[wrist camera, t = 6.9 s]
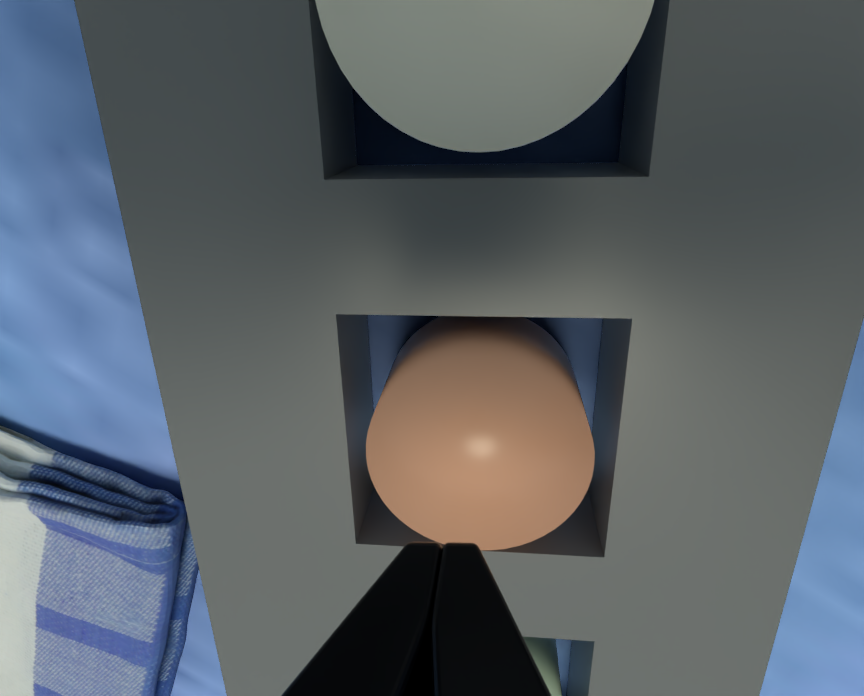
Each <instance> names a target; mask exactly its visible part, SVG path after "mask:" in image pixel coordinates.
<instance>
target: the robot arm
mask: <svg viewBox="0 0 864 696" xmlns="http://www.w3.org/2000/svg"><path fill="white" fill-rule="evenodd" d="M281 696H552V695H551V693H550V691H549V689H548V687H547V685H546V683H545V681H544V679H543V677H542V675H541V673H540V671H539V669H538V667H537V665H536V663H535V661H534V659H533V657H532V654H531V652H530V650H529V648H528V646H527V644H526V642H525V640H524V638H523V636H522V634H521V632H520V630H519V628H518V626H517V624H516V622H515V620H514V618H513V616H512V613H511V611H510V609H509V607H508V605H507V603H506V601H505V599H504V597H503V595H502V593H501V591H500V589H499V587H498V585H497V583H496V581H495V579H494V577H493V575H492V573H491V570H490V568H489V566H488V564H487V562H486V560H485V558H484V556H483V554H482V552H481V550H480V548H479V547H478V545H477V544H475V543H461V542H448V543H446V544H444V546H443V547H442V546H441V544H440V543H438V542H409V543H407V544H406V545H405V546H404V547H403V548H402V550H401V551H400V552H399V553H398V555H397V556H396V557H395V558H394V559H393V561H392V562H391V563H390V564H389V565H388V567H387V568H386V569H385V570H384V572H383V573H382V574H381V575H380V576H379V578H378V579H377V580H376V581H375V582H374V584H373V585H372V586H371V587H370V588H369V590H368V591H367V592H366V593H365V595H364V596H363V597H362V598H361V599H360V601H359V602H358V603H357V604H356V605H355V607H354V608H353V609H352V610H351V612H350V613H349V614H348V615H347V616H346V618H345V619H344V620H343V621H342V622H341V624H340V625H339V626H338V627H337V628H336V630H335V631H334V632H333V633H332V635H331V636H330V637H329V638H328V639H327V641H326V642H325V643H324V644H323V645H322V647H321V648H320V649H319V650H318V652H317V653H316V654H315V655H314V656H313V658H312V659H311V660H310V661H309V662H308V664H307V665H306V666H305V667H304V668H303V670H302V671H301V672H300V673H299V675H298V676H297V677H296V678H295V679H294V681H293V682H292V683H291V684H290V685H289V687H288V688H287V689H286V690H285V691H284V693H283V694H282V695H281Z"/></svg>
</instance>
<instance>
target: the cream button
mask: <svg viewBox="0 0 864 696" xmlns="http://www.w3.org/2000/svg"><path fill="white" fill-rule="evenodd" d="M315 2H316V6H317V10H318V14H319V18H320V22H321V26H322V29H323V31H324V34H325V37H326V39H327V42H328V44H329V47H330V49H331V51H332V53H333V55H334V57H335V59H336V61H337V63H338V65H339V67H340V69H341V71H342V72H343V74H344V75H345V76H346V78H347V79H348V81H349V82H350V84H351V85H352V87H353V88H354V90H355V91H356V92H357V93H358V94H359V95H360V96H361V98H362V99H363V100H364V101H365V102H366V103H367V104H368V106H370V107H371V108H372V109H373V110H374V111H375V112H376V113H377V114H379V115H380V116H381V117H382V118H383V119H384V120H386V121H387V122H389V123H390V124H391V125H393V126H394V127H396V128H397V129H399V130H400V131H402V132H404V133H406V134H408V135H410V136H412V137H414V138H416V139H418V140H420V141H422V142H425V143H428V144H431V145H434V146H437V147H440V148H445V149H450V150H455V151H462V152H492V151H502V150H506V149H511V148H515V147H520V146H523V145H526V144H529V143H531V142H534V141H537V140H540V139H542V138H544V137H546V136H548V135H550V134H552V133H554V132H556V131H558V130H559V129H561V128H563V127H564V126H566V125H567V124H569V123H570V122H571V121H573V120H574V119H576V118H577V117H579V116H580V115H581V114H582V113H583V112H585V111H586V110H587V109H588V108H589V107H590V106H591V105H592V104H594V103H595V102H596V101H597V100H598V99H599V98H600V97H601V96H602V94H603V93H604V92H605V91H606V90H607V89H608V88H609V87H610V85H611V84H612V83H613V82H614V81H615V79H616V78H617V76H618V75H619V74H620V72H621V71H622V69H623V68H624V66H625V65H626V64H627V62H628V61H629V59H630V57H631V55H632V53H633V51H634V50H635V48H636V46H637V44H638V42H639V40H640V39H641V36H642V34H643V31H644V29H645V26H646V24H647V22H648V19H649V17H650V14H651V11H652V7H653V4H654V0H315Z"/></svg>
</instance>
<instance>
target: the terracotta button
mask: <svg viewBox="0 0 864 696" xmlns="http://www.w3.org/2000/svg"><path fill="white" fill-rule="evenodd" d="M366 460H367V466H368V471H369V474H370V477H371V480H372V482H373V485H374V487H375V489H376V491H377V493H378V494H379V496H380V498H381V499H382V501H383V502H384V503H385V505H386V506H387V507H388V508H389V510H390V511H391V512H392V513H393V514H394V515H395V516H396V517H397V518H398V519H399V520H401V521H402V522H403V523H404V524H406V525H407V526H408V527H410V528H411V529H412V530H414V531H416V532H418V533H419V534H421V535H423V536H425V537H427V538H429V539H431V540H434V541H436V542H439V543H442V544H446V543H448V542H461V543H475V544H477V545H478V547H479V548H480V550H499V549H507V548H511V547H516V546H520V545H523V544H526V543H529V542H532V541H534V540H536V539H538V538H540V537H543V536H544V535H546V534H548V533H549V532H551V531H553V530H554V529H556V528H557V527H558V526H559V525H561V524H562V523H563V522H564V521H566V520H567V518H568V517H569V516H570V515H571V514H572V513H573V512H574V511H575V510H576V508H577V507H578V506H579V504H580V503H581V501H582V500H583V498H584V496H585V494H586V492H587V490H588V488H589V485H590V482H591V479H592V475H593V470H594V461H595V450H594V443H593V437H592V434H591V430H590V427H589V423H588V420H587V416H586V413H585V409H584V406H583V402H582V399H581V396H580V392H579V389H578V385H577V382H576V378H575V375H574V372H573V368H572V365H571V363H570V361H569V359H568V357H567V355H566V354H565V352H564V351H563V349H562V347H561V346H560V345H559V344H558V343H557V341H556V340H555V339H554V338H553V337H552V336H551V335H550V334H549V333H548V332H546V331H545V330H544V329H543V328H541V327H540V326H538V325H537V324H535V323H534V322H532V321H530V320H528V319H526V318H524V317H486V316H441V317H438V318H436V319H434V320H432V321H431V322H429V323H427V324H426V325H424V326H423V327H421V328H420V329H419V330H418V331H417V332H415V333H414V334H413V335H412V336H411V337H410V338H409V339H408V341H407V342H406V343H405V344H404V346H403V347H402V349H401V350H400V351H399V353H398V355H397V357H396V359H395V361H394V364H393V366H392V369H391V371H390V374H389V376H388V379H387V381H386V384H385V386H384V389H383V391H382V394H381V396H380V399H379V401H378V404H377V406H376V409H375V411H374V414H373V416H372V419H371V422H370V425H369V429H368V433H367V439H366Z"/></svg>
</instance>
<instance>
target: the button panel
mask: <svg viewBox="0 0 864 696" xmlns="http://www.w3.org/2000/svg"><path fill="white" fill-rule="evenodd" d="M74 2H75V6H76V11H77V15H78V20H79V24H80V29H81V33H82V38H83V43H84V47H85V52H86V56H87V61H88V65H89V70H90V74H91V79H92V84H93V88H94V93H95V97H96V102H97V106H98V111H99V115H100V120H101V124H102V129H103V134H104V138H105V143H106V147H107V152H108V156H109V161H110V165H111V170H112V175H113V179H114V184H115V188H116V193H117V197H118V202H119V206H120V211H121V216H122V220H123V225H124V229H125V234H126V238H127V243H128V247H129V252H130V257H131V261H132V266H133V270H134V275H135V279H136V284H137V288H138V293H139V297H140V302H141V307H142V311H143V316H144V320H145V325H146V329H147V334H148V338H149V343H150V348H151V352H152V357H153V361H154V366H155V370H156V375H157V379H158V384H159V389H160V393H161V398H162V402H163V407H164V411H165V416H166V420H167V425H168V430H169V434H170V439H171V443H172V448H173V452H174V457H175V461H176V466H177V470H178V475H179V480H180V484H181V489H182V493H183V498H184V502H185V507H186V511H187V516H188V521H189V525H190V530H191V534H192V539H193V543H194V548H195V552H196V557H197V562H198V566H199V571H200V575H201V580H202V584H203V589H204V593H205V598H206V603H207V607H208V612H209V616H210V621H211V625H212V630H213V634H214V639H215V644H216V648H217V653H218V657H219V662H220V666H221V671H222V675H223V680H224V684H225V689H226V694H227V696H281V695H282V694H283V693H284V691H285V690H286V689H287V688H288V687H289V685H290V684H291V683H292V682H293V681H294V679H295V678H296V677H297V676H298V675H299V673H300V672H301V671H302V670H303V668H304V667H305V666H306V665H307V664H308V662H309V661H310V660H311V659H312V658H313V656H314V655H315V654H316V653H317V652H318V650H319V649H320V648H321V647H322V645H323V644H324V643H325V642H326V641H327V639H328V638H329V637H330V636H331V635H332V633H333V632H334V631H335V630H336V628H337V627H338V626H339V625H340V624H341V622H342V621H343V620H344V619H345V618H346V616H347V615H348V614H349V613H350V612H351V610H352V609H353V608H354V607H355V605H356V604H357V603H358V602H359V601H360V599H361V598H362V597H363V596H364V595H365V593H366V592H367V591H368V590H369V588H370V587H371V586H372V585H373V584H374V582H375V581H376V580H377V579H378V578H379V576H380V575H381V574H382V573H383V572H384V570H385V569H386V568H387V567H388V565H389V564H390V563H391V562H392V561H393V559H394V558H395V557H396V556H397V555H398V553H399V552H400V551H401V550H402V548H403V547H404V546H405V545H406V544H407V543H409V542H436V541H434V540H431V539H429V538H427V537H425V536H423V535H421V534H419V533H418V532H416V531H414V530H412V529H411V528H410V527H408V526H407V525H406V524H404V523H403V522H402V521H401V520H399V519H398V518H397V517H396V516H395V515H394V514H393V513H392V512H391V511H390V510H389V508H388V507H387V506H386V505H385V503H384V502H383V501H382V499H381V498H380V496H379V494H378V493H377V491H376V489H375V487H374V485H373V482H372V480H371V477H370V474H369V471H368V466H367V460H366V439H367V433H368V429H369V425H370V422H371V419H372V416H373V414H374V412H373V397H372V382H371V366H370V351H369V336H368V321H367V315H418V316H486V317H554V318H603V325H602V335H601V345H600V355H599V366H598V376H597V386H596V397H595V407H594V417H593V428H592V437H593V443H594V450H595V461H594V470H593V475H592V479H591V482H590V485H589V488H588V490H587V492H586V494H585V496H584V498H583V500H582V501H581V503H580V504H579V506H578V507H577V508H576V510H575V511H574V512H573V513H572V514H571V515H570V516H569V517H568V518H567V520H566V521H564V522H563V523H562V524H561V525H559V526H558V527H557V528H556V529H554V530H553V531H551V532H549V533H548V534H546V535H544V536H543V537H540V538H538V539H536V540H534V541H532V542H529V543H526V544H523V545H520V546H516V547H511V548H507V549H499V550H481V552H482V554H483V556H484V558H485V560H486V562H487V564H488V566H489V568H490V570H491V573H492V575H493V577H494V579H495V581H496V583H497V585H498V587H499V589H500V591H501V593H502V595H503V597H504V599H505V601H506V603H507V605H508V607H509V609H510V611H511V613H512V616H513V618H514V620H515V622H516V624H517V626H518V628H519V630H520V632H521V634H522V636H524V637H538V638H553V639H567V640H572V644H571V654H570V665H569V675H568V685H567V696H759V694H760V690H761V687H762V683H763V680H764V676H765V672H766V669H767V665H768V661H769V658H770V654H771V651H772V647H773V643H774V640H775V636H776V632H777V629H778V625H779V622H780V618H781V614H782V611H783V607H784V604H785V600H786V596H787V593H788V589H789V585H790V582H791V578H792V575H793V571H794V567H795V564H796V560H797V557H798V553H799V549H800V546H801V542H802V538H803V535H804V531H805V528H806V524H807V520H808V517H809V513H810V510H811V506H812V502H813V499H814V495H815V491H816V488H817V484H818V481H819V477H820V473H821V470H822V466H823V463H824V459H825V455H826V452H827V448H828V444H829V441H830V437H831V434H832V430H833V426H834V423H835V419H836V416H837V412H838V408H839V405H840V401H841V397H842V394H843V390H844V387H845V383H846V379H847V376H848V372H849V368H850V365H851V361H852V358H853V354H854V350H855V347H856V343H857V340H858V336H859V332H860V329H861V325H862V321H863V318H864V0H654V4H653V7H652V11H651V14H650V17H649V19H648V22H647V24H646V26H645V29H644V31H643V34H642V36H641V39H640V40H639V42H638V44H637V46H636V48H635V50H634V51H633V53H632V55H631V57H630V59H629V61H628V67H627V77H626V87H625V98H624V108H623V118H622V129H621V139H620V149H619V160H618V162H602V163H514V164H426V165H357V153H356V138H355V123H354V107H353V92H352V85H351V84H350V82H349V81H348V79H347V78H346V76H345V75H344V74H343V72H342V71H341V69H340V67H339V65H338V63H337V61H336V59H335V57H334V55H333V53H332V51H331V49H330V47H329V44H328V42H327V39H326V37H325V34H324V31H323V29H322V26H321V22H320V18H319V14H318V10H317V6H316V2H315V0H74ZM438 543H439V542H438ZM440 544H441V546H442V547H443V546H444V544H442V543H440Z"/></svg>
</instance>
